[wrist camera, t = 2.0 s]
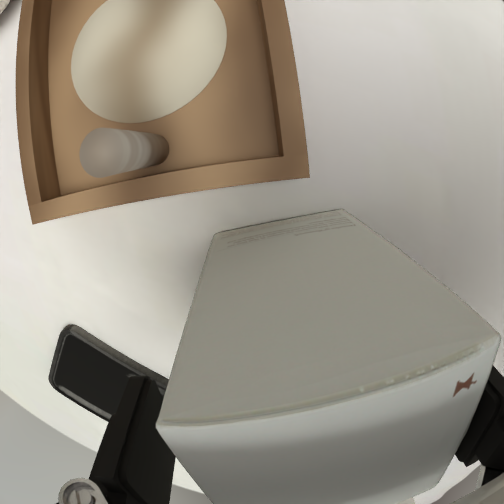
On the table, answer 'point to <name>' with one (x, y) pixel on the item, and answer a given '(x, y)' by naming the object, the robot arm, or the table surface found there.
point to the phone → (94, 372)
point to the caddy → (153, 100)
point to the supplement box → (321, 368)
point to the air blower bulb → (3, 5)
